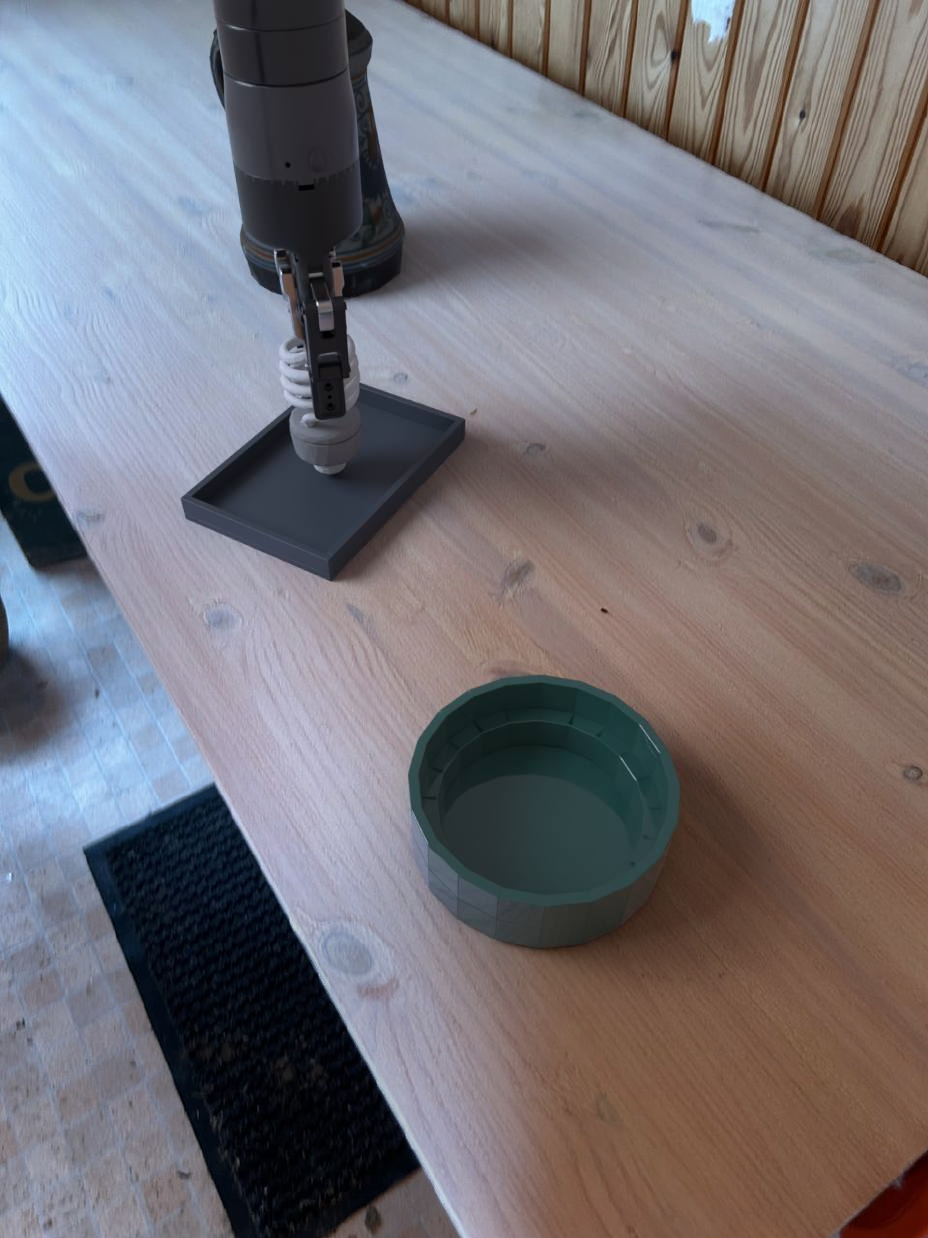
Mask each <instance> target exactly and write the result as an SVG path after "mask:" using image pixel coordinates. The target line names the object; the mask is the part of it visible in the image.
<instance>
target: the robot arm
mask: <svg viewBox="0 0 928 1238" xmlns="http://www.w3.org/2000/svg"><path fill="white" fill-rule="evenodd" d="M345 5H346V4H345V0H212V8H213V13H214V19H215V26H216V27H215V28H217V33H218V40H219V46H220V53H221V59H222V66H223V75H224V97H225V110H224V113H225V120H226V128H227V133H228V134H227V135H228V139H229V145H230V152H231V159H232V166H233V173H234V178H235V184H236V190H237V195H238V196H237V197H238V202H239V209H240V216H241V221H242V222H241V224H242V223H243V226H244V229H245V230H246V232H247V233H248V234H249V236H250V237H252V238H253V239H254V240H256V241H257V242H259V243H261V244H263V245H266V246H268V247H272V248H276V249H274V259H275V263H276V268H277V272H278V275H279V276H280V285H281V289H282V294H283V295H282V298H283V300H284V301H285V302H287V303H288V305H287V311H288V314H289V315H290V320H291V326H292V333H293V335H294V336H295V337H296V338H297V339H299V340H301V341H302V342H303V345H300V346H297V347H296V349H300V348H304V352H305V358H306V363H305V370H306V371H308V375H309V380H310V388H311V396H312V404H313V411H314V415H315V417H316V419H318V420H327V419H334V418H341V417H343V416H344V415H345V414H346V404H345V393H344V382H343V379H346V378H350V372H351V368H350V364H349V357H348V341H347V334H348V325H347V313H346V312H347V310H348V305H347V302H346V300H345V299H343V296H342V289H343V287H344V277H343V270H342V264H341V261H340V260H338V261H336V252H335V246H336V245H337V244H339V243H340V242H342V241H346V240H347V239H349V238H350V237H352V236H353V235H354V234H355V233H356V232H357V231H358V229H359V228H360V226H361V224H362V220H363V209H362V194H361V179H360V163H359V148H358V132H357V117H356V107H355V100H354V95H353V90H352V85H351V79H350V73H349V65H348V48H347V33H346V18H345V9H346V7H345ZM278 248H279V249H278ZM332 352H334V354H330V355H323V356H319V355H320V354H325V353H332Z"/></svg>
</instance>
